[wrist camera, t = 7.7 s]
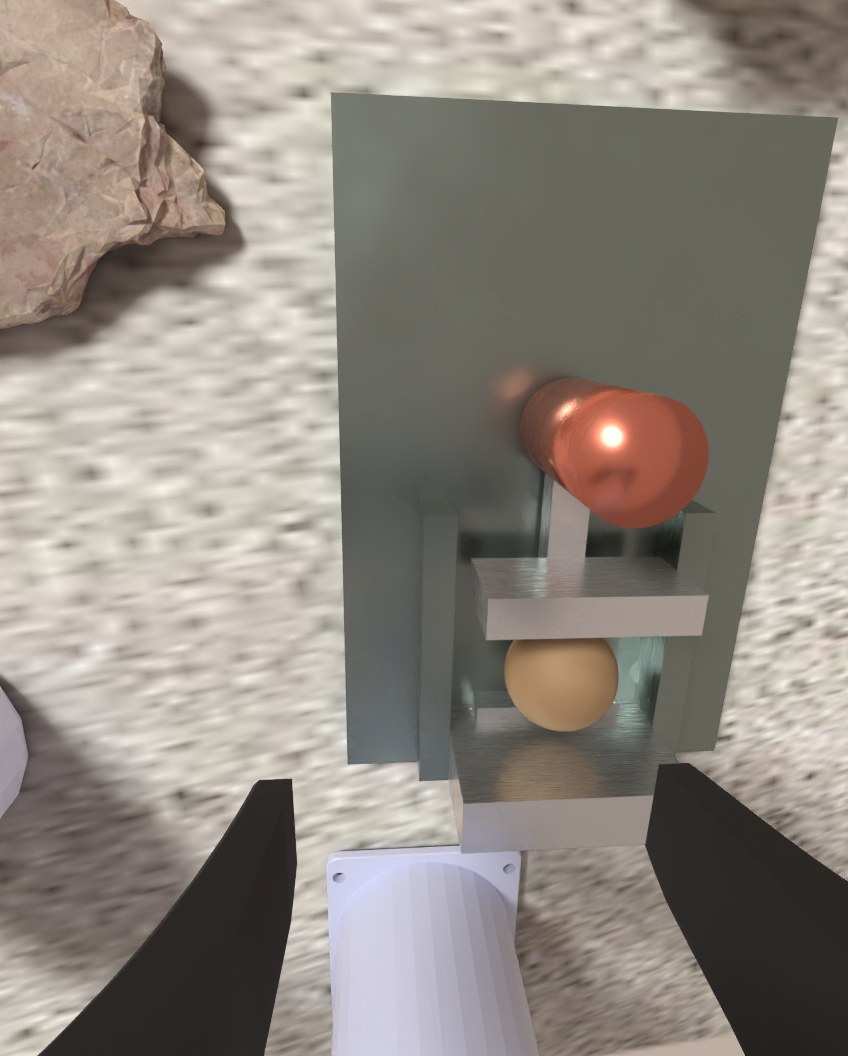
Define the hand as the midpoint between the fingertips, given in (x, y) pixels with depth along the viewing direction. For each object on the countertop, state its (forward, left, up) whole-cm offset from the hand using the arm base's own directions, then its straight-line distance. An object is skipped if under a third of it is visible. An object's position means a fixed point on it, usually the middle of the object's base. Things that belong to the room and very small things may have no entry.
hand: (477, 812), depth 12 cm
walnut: (-2, -4, -9) cm, 10 cm away
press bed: (+4, -4, -10) cm, 12 cm away
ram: (+4, -4, -9) cm, 11 cm away
